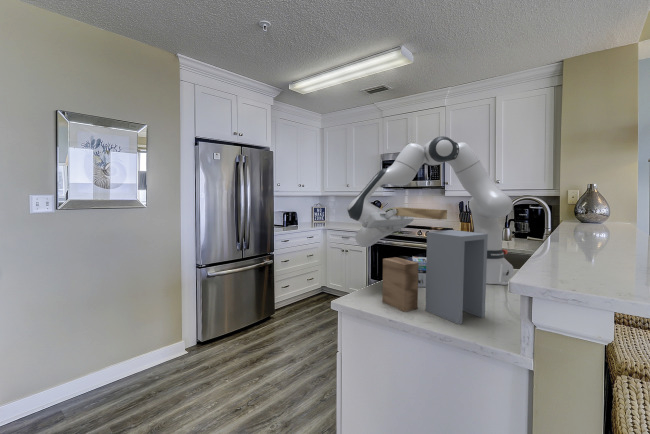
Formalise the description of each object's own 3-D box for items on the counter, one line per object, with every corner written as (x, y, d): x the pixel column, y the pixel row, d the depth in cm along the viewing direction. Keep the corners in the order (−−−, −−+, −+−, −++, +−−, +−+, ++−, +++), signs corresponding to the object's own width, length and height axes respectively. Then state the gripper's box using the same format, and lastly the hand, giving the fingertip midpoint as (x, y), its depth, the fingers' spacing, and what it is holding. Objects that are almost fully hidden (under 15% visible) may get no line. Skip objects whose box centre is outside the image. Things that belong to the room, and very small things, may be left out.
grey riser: (450, 304, 111) (452, 229, 109) (484, 316, 100) (487, 234, 98) (425, 310, 105) (427, 231, 103) (458, 324, 94) (461, 236, 92)
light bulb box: (430, 287, 131) (430, 261, 130) (413, 286, 132) (413, 261, 132) (427, 280, 141) (427, 256, 141) (411, 280, 143) (411, 256, 142)
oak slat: (400, 215, 123) (400, 207, 122) (446, 219, 103) (447, 209, 103) (393, 215, 121) (393, 207, 121) (439, 219, 102) (439, 210, 102)
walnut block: (395, 299, 117) (396, 257, 116) (417, 308, 107) (418, 262, 106) (382, 301, 114) (382, 258, 113) (403, 311, 104) (404, 264, 103)
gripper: (357, 219, 126) (377, 203, 115) (397, 218, 136) (418, 202, 125) (362, 234, 124) (382, 218, 113) (402, 231, 134) (424, 217, 123)
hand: (401, 210), depth 119 cm, fingers closed on oak slat, 3 cm apart
